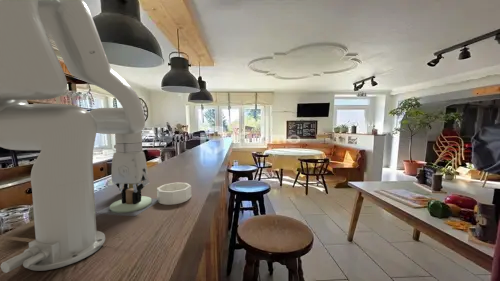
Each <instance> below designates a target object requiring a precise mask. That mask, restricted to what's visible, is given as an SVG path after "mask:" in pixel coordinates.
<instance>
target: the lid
mask: <svg viewBox="0 0 500 281" xmlns="http://www.w3.org/2000/svg"><path fill="white" fill-rule="evenodd" d="M133 192H134V189H133V188H131V189H127V190H126V203H124V204H123V203H122V198H121V199H119V200H116V201H114V202H112V203H111V204H110V205H109V206H110V211H111V212H114V213H128V212H134V211H138V210H141V209H144V208H146V207H148V206H149V205H150V204H151V203H152V199H151V197H150V196H144V195H141V201H140V202H138V203H137V204H133V198H132V193H133Z"/></svg>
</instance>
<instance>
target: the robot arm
mask: <svg viewBox="0 0 500 281" xmlns="http://www.w3.org/2000/svg"><path fill="white" fill-rule="evenodd" d="M49 37H51V38H52V39H53V42H54V44H55V45H56V46H55V47H56V48H57V51H58V52H59V54H60V57H61V58H62V60H63V63H64V65H65V66H66V69H67V71H68V72H69V73H70V75H71V76H73V77H74V78H77V79H79V80H82V81H84V82H87V83H89V84H90V85H91V84H92V85H93V86H95V87H98V88H100V89H102V90H104V91H105V92H107V93H108V94H110V95H112V96H113V97H114V98H115V99H116V100H117V101H118V102H119V104H120V105H121V107H98V108H97V107H96V108H94V109H91V110H90V111H88V110H86V109H85V108H83V107H80V106H78V105H72V104H63V103H36V104H34V103H33V104H32V103H30V104H29V102H28V101H33V100H34V101H37V100H38V101H40V100H52V99H56V98H59V97H61V96H62V95H64V94H65V93H66V91H67V89H68V82H67V81H68V80H67V77H66V74H65V72H64V70H63V67H62V65H61V62H60V61H59V58H58V56H57V53H56V51H55V49H54V47H53V45H52V42H51V41H50V38H49ZM145 125H146V118H145V113H144V109H143V107H142V103H141V100H140V98H139V95H138V94H137V92H136V91H135V90H134V88H133V87H132V86H131V85H130V84H129V83H128V82H127V81H126V80H125V78H123V77H122V76H121V75H119V74H118V73H117V72H116V71H115V70H113V68H112V67H111V65H110V63H109V59H108V56H107V55H106V52H105V49H104V46H103V43H102V41H101V38H100V34H99V31H98V29H97V26H96V24H95V21H94V19H93V16H92V14H91V10H90V9H89V7H88V5H87V3H86V2H85V1H84V0H0V148H3V149H6V150H13V151H39V154H38V155H37V157H36V159H35V161H34V163H33V166H32V167H31V170H30V171H31V172H30V185H31V192H32V193H31V194H32V196H31V197H32V207H33V221H34V233H35V235H34V237H35V239H34V240H31V241H29V242H28V248H27V249H25V250H23V252H22V253H20V254H18V255H15V256H13V257H11V258H9V259H7V260H5V261H2V263H1V264H0V269H1V271H2V272H3V273H5V274H6V273H10V272H11V271H13V270H15V269H16V268H18V267H20V266H22V267H24V268H25V269H28V270H31V271H35V272H37V271H38V272H39V271H41V272H42V271H49V270H51V271H52V270H55V269H59V268H63V267H67V266H69V265H72V264H75V263H77V262H79V261H82V260H84V259H85V258H88V257H89V256H91V255H93V254H94V253H96V252H97V251H99V249H100V248H102V247H103V244H104V243H105V241H106V234H105V233H104V232H103V231H99V230H97V220H96V219H97V215H96V214H97V213H95V212H96V201H95V200H96V199H95V196H96V195H95V183H94V182H95V181H94V161H93V160H94V148H95V142H96V137H97V134H101V135H114V136H115V137H114V139H115V144H114V145H113V148H114V149H115V152H113V155H112V160H111V183H112V184H113V185H115V186H116V187H117V188H118V191H119V192H121V193H120V194H121V199H122V203H123V204H124V203H126V190H127V189H128V188H129V184H133V189H134V192H133V193H132V198H133V204H137V203H138V202H140V201H141V196H142V191H143V190H144V188H145V187H146V186H147V185H149V184H151V180H150V179H149V177H148V165H147V159H146V154H145V152H144V151H143V136H142V135H143V130H144V128H145ZM142 182H143V183H142ZM137 184H138V186H137Z"/></svg>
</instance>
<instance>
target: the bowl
mask: <svg viewBox="0 0 500 281" xmlns="http://www.w3.org/2000/svg"><path fill="white" fill-rule="evenodd" d="M190 198H192V185H191V184H189V183H188V182H171V183H165V184H163V185H160V186H159V187H158V186H157V187H156V199H157V200H158V203H159V204H160V205H161V204H162V205H165V206H166V205H170V206H171V205H172V206H173V205H177V204H178V205H179V204H182V203H185V202H187V201H189V200H190Z"/></svg>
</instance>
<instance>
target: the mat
mask: <svg viewBox="0 0 500 281" xmlns="http://www.w3.org/2000/svg"><path fill="white" fill-rule="evenodd" d="M150 198H151V197H150ZM151 199H152V203H151V204H150V205H149V206H148V207H146V208H144V209H141V210H138V211H134V212H128V213H114V212H111V211H110V205H108V206H107V207H104V208H102V209H100V210H98V211H95V214H99V215H113V216H127V217H136V216H139V215H140V214H142V213H143V212H145V211H146V210H148V209H149V208H151V207H152V206H154V205H156V204H158V203H159V202H158V200H157V198H151Z"/></svg>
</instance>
